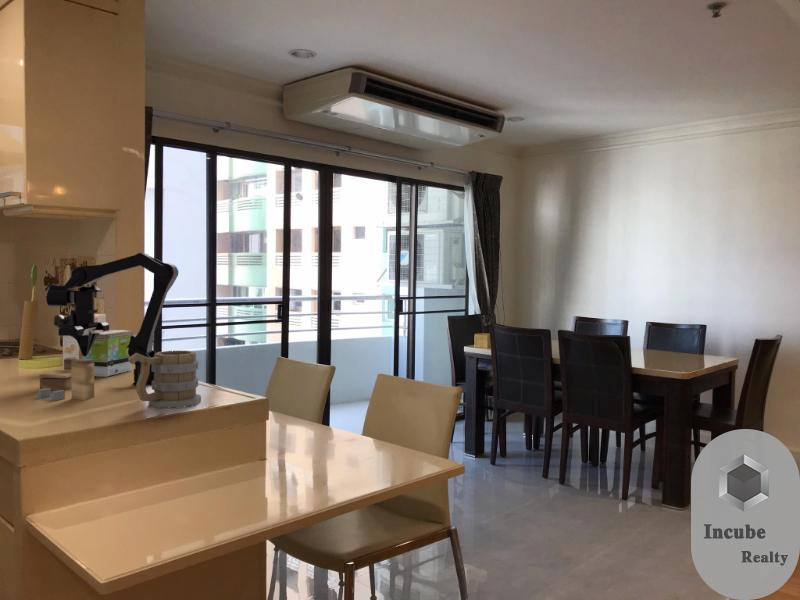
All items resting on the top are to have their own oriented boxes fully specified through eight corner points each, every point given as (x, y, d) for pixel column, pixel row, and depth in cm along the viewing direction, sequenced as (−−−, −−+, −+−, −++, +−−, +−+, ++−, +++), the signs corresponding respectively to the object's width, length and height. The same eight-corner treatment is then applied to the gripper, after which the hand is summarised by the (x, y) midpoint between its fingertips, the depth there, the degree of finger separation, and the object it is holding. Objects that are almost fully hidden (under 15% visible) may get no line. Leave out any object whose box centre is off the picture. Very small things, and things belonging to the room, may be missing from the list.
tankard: (183, 396, 187) (182, 345, 186) (208, 403, 179) (208, 348, 178) (115, 407, 171) (115, 351, 171) (140, 415, 163) (140, 355, 163)
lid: (66, 370, 202) (66, 358, 202) (91, 371, 201) (91, 359, 201) (39, 377, 189) (39, 364, 189) (65, 378, 188) (65, 365, 188)
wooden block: (81, 399, 181) (81, 358, 180) (94, 400, 180) (94, 359, 180) (71, 402, 177) (71, 360, 176) (84, 403, 176) (84, 361, 176)
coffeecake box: (79, 371, 229) (79, 316, 228) (61, 370, 230) (61, 315, 229) (106, 365, 243) (106, 313, 242) (90, 364, 245) (89, 313, 244)
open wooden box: (67, 385, 202) (66, 371, 202) (91, 386, 202) (91, 372, 201) (39, 393, 189) (39, 378, 189) (65, 393, 189) (65, 379, 188)
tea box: (108, 377, 218) (108, 333, 217) (81, 376, 219) (80, 332, 219) (133, 370, 233) (133, 329, 232) (107, 369, 234) (107, 328, 234)
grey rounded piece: (53, 398, 182) (53, 387, 182) (70, 401, 179) (70, 389, 179) (31, 402, 176) (31, 390, 176) (48, 405, 173) (48, 393, 173)
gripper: (77, 304, 214) (78, 351, 215) (40, 307, 195) (41, 359, 196) (109, 305, 213) (110, 352, 213) (75, 308, 194) (76, 360, 195)
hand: (85, 355), depth 205 cm, fingers closed
